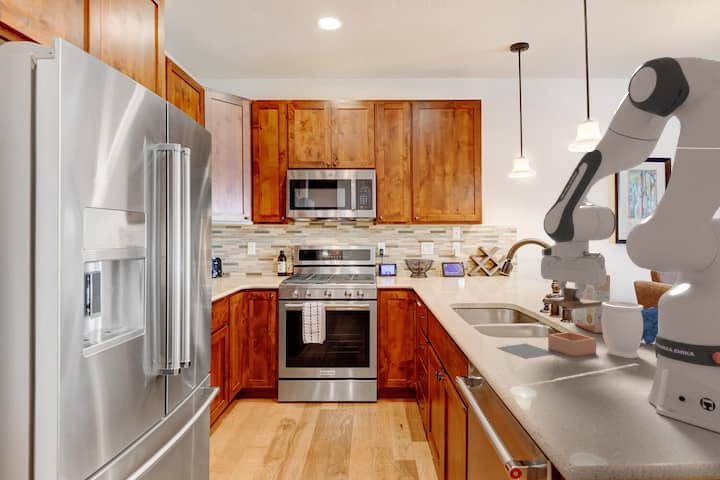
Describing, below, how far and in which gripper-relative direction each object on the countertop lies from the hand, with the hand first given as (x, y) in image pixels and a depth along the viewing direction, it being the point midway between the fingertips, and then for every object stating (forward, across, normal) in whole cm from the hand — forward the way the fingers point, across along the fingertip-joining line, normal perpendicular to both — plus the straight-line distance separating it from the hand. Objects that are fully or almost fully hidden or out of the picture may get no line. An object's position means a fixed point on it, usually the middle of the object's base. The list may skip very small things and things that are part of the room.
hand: (571, 297), depth 122 cm
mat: (+17, +6, +12) cm, 21 cm away
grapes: (+17, -2, -32) cm, 36 cm away
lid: (+2, 0, 0) cm, 2 cm away
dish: (+17, 0, 0) cm, 17 cm away
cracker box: (+17, +19, -33) cm, 42 cm away
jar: (+17, -7, -12) cm, 22 cm away
